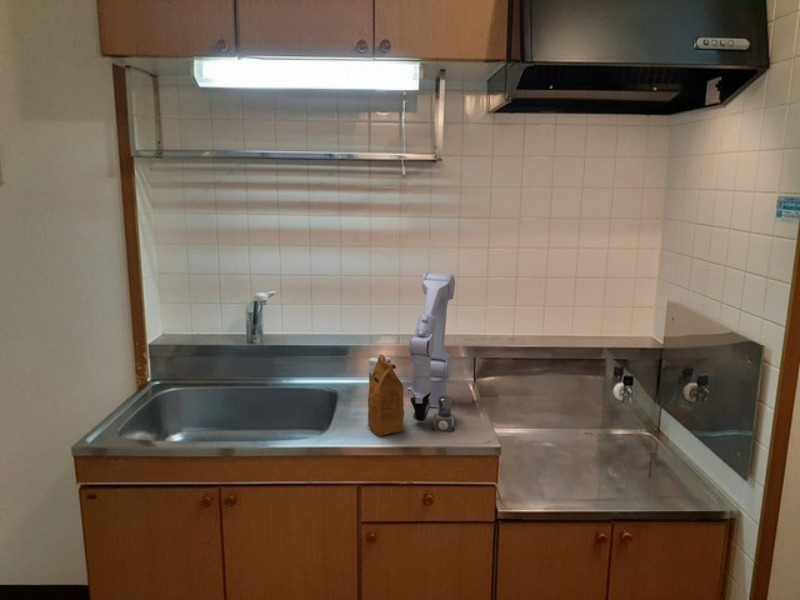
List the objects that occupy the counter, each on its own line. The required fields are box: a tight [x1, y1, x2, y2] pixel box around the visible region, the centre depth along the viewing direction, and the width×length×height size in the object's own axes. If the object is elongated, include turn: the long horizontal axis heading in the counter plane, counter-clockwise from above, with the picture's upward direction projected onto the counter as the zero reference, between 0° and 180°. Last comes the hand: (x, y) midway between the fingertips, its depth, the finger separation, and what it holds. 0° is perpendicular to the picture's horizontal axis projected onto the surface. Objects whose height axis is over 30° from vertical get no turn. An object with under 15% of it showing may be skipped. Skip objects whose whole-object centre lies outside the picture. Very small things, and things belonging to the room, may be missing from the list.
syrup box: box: [368, 355, 392, 388], centre depth 201 cm, size 6×6×14 cm
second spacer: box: [412, 403, 431, 423], centre depth 181 cm, size 4×4×6 cm
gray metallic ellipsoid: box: [437, 395, 452, 418], centre depth 183 cm, size 4×4×6 cm
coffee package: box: [367, 354, 405, 437], centre depth 176 cm, size 10×12×22 cm
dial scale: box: [432, 411, 456, 433], centre depth 181 cm, size 11×7×4 cm, turn 173°
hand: (420, 416), depth 181 cm, fingers closed on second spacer, 4 cm apart
